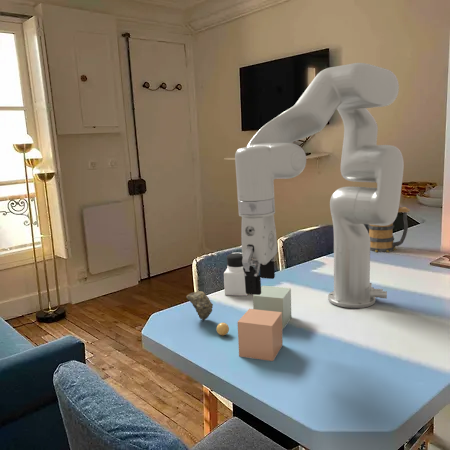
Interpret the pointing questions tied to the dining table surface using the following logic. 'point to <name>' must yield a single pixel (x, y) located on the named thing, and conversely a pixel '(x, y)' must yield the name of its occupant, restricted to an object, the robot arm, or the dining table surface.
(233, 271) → the medicine bottle
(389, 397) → the dining table surface
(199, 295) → the rock
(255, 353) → the salmon pink box
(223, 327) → the marble amber
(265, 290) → the sage green cube
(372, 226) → the mug
